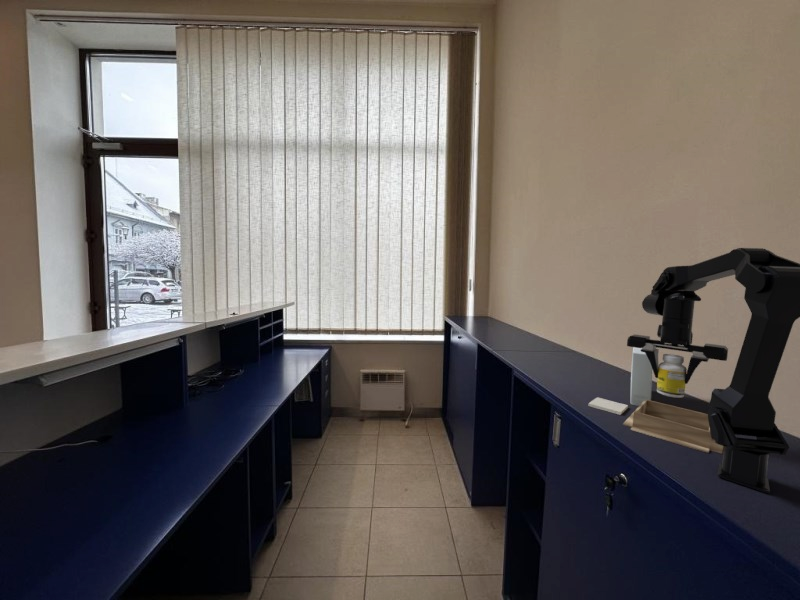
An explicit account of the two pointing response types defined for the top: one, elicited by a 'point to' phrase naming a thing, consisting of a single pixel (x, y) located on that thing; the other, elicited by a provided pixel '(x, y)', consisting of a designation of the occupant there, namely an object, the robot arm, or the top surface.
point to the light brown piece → (674, 425)
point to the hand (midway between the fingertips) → (671, 380)
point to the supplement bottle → (671, 376)
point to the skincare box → (640, 377)
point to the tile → (608, 405)
